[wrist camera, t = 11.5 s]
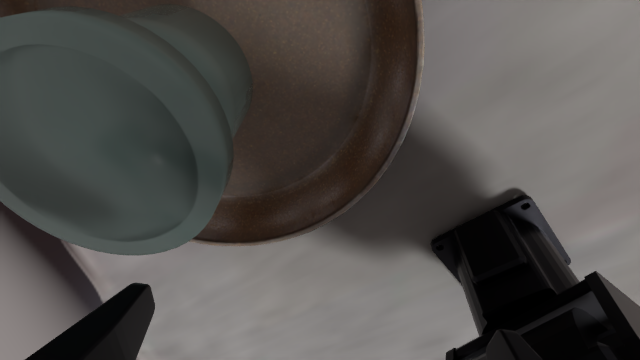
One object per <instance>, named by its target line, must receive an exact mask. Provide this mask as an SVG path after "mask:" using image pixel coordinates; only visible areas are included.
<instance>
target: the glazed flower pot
mask: <svg viewBox="0 0 640 360" xmlns="http://www.w3.org/2000/svg"><path fill="white" fill-rule="evenodd" d="M252 94H253V82H252V75H251V71H250V67H249V64H248V62H247V59H246V57H245V55H244V53H243V51H242V49H241V47H240V46H239V44H238V43H237V42H236V40H235V39H234V38H233V36H232V35H231V34H230V33H229V32H228V31H227V30H226V29H225V28H224V27H223V26H222V25H221V24H219V23H218V22H217V21H215V20H214V19H213V18H211V17H210V16H208V15H206V14H204V13H202V12H200V11H198V10H195V9H193V8H190V7H186V6H182V5H176V4H159V5H155V6H150V7H147V8H143V9H140V10H137V11H133V12H130V13H126V14H123V15H120V16H118V15H115V14H113V13H110V12H105V11H101V10H97V9H93V8H86V7H76V6H63V7H51V8H46V9H41V10H36V11H31V12H26V13H21V14H16V15H11V16H6V17H1V18H0V201H1V202H2V203H4V204H5V205H6V206H7V207H8V208H10V209H11V210H12V211H14V212H15V213H16V214H18V215H19V216H20V217H22V218H23V219H25V220H26V221H28V222H30V223H32V224H33V225H35V226H36V227H38V228H40V229H42V230H43V231H45V232H47V233H49V234H51V235H53V236H55V237H58V238H60V239H62V240H64V241H67V242H69V243H72V244H75V245H78V246H81V247H84V248H88V249H91V250H95V251H99V252H105V253H110V254H119V255H148V254H155V253H160V252H165V251H168V250H171V249H174V248H177V247H179V246H181V245H183V244H185V243H187V242H188V241H190V240H191V239H192V238H194V237H195V236H197V235H198V234H199V233H200V232H201V231H202V230H203V229H204V228H205V226H206V225H207V223H208V222H209V221H210V219H211V218H212V216H213V214H214V212H215V210H216V207H217V205H218V203H219V201H220V199H221V197H222V195H223V193H224V191H225V189H226V187H227V184H228V182H229V180H230V176H231V172H232V169H233V159H234V151H233V140H232V139H233V137H234V136H235V134H236V132H237V131H238V129H239V127H240V125H241V124H242V122H243V120H244V118H245V117H246V115H247V113H248V110H249V108H250V105H251V101H252Z"/></svg>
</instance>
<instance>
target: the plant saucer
mask: <svg viewBox="0 0 640 360" xmlns="http://www.w3.org/2000/svg"><path fill="white" fill-rule="evenodd" d="M159 4H176V5H182V6H186V7H190V8H193V9H195V10H198V11H200V12H202V13H204V14H206V15H208V16H210V17H211V18H213V19H214V20H215V21H217V22H218V23H219V24H221V25H222V26H223V27H224V28H225V29H226V30H227V31H228V32H229V33H230V34H231V35H232V36H233V38H234V39H235V40H236V42H237V43H238V44H239V46H240V47H241V49H242V51H243V53H244V55H245V57H246V59H247V62H248V64H249V67H250V71H251V75H252V82H253V94H252V101H251V105H250V108H249V110H248V113H247V115H246V117H245V118H244V120H243V122H242V124H241V125H240V127H239V129H238V131H237V132H236V134H235V136H234V137H233V139H232V140H233V151H234V159H233V169H232V172H231V176H230V180H229V182H228V184H227V187H226V189H225V191H224V193H223V195H222V197H221V199H220V201H219V203H218V205H217V207H216V210H215V212H214V214H213V216H212V218H211V219H210V221H209V222H208V223H207V225H206V226H205V228H204V229H203V230H202V231H201V232H200V233H199V234H198V235H197V236H195V237H194V238H192V239H191V240H190V241H189V242H194V243H198V244H205V245H214V246H255V245H262V244H269V243H275V242H278V241H283V240H287V239H291V238H294V237H297V236H300V235H303V234H305V233H308V232H311V231H313V230H315V229H317V228H319V227H321V226H323V225H325V224H327V223H328V222H330V221H332V220H333V219H335V218H337V217H338V216H340V215H341V214H343V213H344V212H346V211H347V210H348V209H350V208H351V207H352V206H353V205H354V204H356V203H357V202H358V201H359V200H360V199H361V198H362V197H363V196H364V195H366V194H367V193H368V192H369V191H370V189H371V188H372V187H373V186H374V185H375V184H376V183H377V181H378V180H379V179H380V178H381V176H382V175H383V174H384V172H385V171H386V169H387V168H388V167H389V165H390V164H391V162H392V161H393V159H394V157H395V155H396V153H397V152H398V150H399V148H400V147H401V145H402V142H403V140H404V138H405V136H406V134H407V131H408V129H409V126H410V124H411V121H412V118H413V115H414V112H415V108H416V104H417V100H418V96H419V91H420V86H421V79H422V71H423V63H424V49H425V45H424V20H423V9H422V2H421V0H0V18H1V17H6V16H11V15H16V14H21V13H26V12H31V11H36V10H41V9H46V8H51V7H63V6H76V7H86V8H93V9H97V10H101V11H105V12H110V13H113V14H115V15H118V16H120V15H123V14H126V13H130V12H133V11H137V10H140V9H143V8H147V7H150V6H155V5H159Z"/></svg>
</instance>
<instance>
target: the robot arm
mask: <svg viewBox="0 0 640 360" xmlns="http://www.w3.org/2000/svg"><path fill="white" fill-rule="evenodd" d="M524 203H527V204H526V205H524V206H521V205H522V204H524ZM437 245H441V246H437ZM431 247H432V250H433V252H434V253H435V254H436V255H437V256H438V257H439V259H440V260H441V261H442V262H443V263H444V264H445V266H446V267H447V268H448V269H449V270H450V271H451V272H452V274H453V275H454V276H455V277H456V278H457V279H458V281H459V282H460V283H461V284H462V286H463V289H464V292H465V295H466V298H467V301H468V304H469V307H470V310H471V313H472V316H473V319H474V322H475V325H476V328H477V331H478V334H479V337H478V338H476V339H474V340H472V341H470V342H468V343H467V344H465V345H463V346H461V347H459V348H457V349H456V348H453V349H452V350H450V351H448V352H446V360H640V306H638V305H637V304H636V303H635V302H633V301H632V300H631V299H630V298H629V297H627V296H626V295H625V294H624V293H622V292H621V291H620V290H619V289H618V288H616V287H615V286H614V285H613V284H611V283H610V282H609V281H608V280H607V279H605V278H604V277H603V276H602V275H600V274H599V273H598V272H597V271H595V272H593V273H591V274H589V275H587V276H585V280H583V281H581V282H579V280H578V279H577V278H576V276H575V275H574V273H573V272H572V270H571V269H570V268H569V266H568V265H569V264H570V263H571V260H570V258H569V256H568V255H567V253H566V252H565V250H564V248H563V247H562V245H561V244H560V242H559V240H558V239H557V237H556V236H555V234H554V233H553V231H552V229H551V228H550V226H549V225H548V223H547V221H546V220H545V218H544V217H543V215H542V214H541V212H540V210H539V209H538V207H537V206H536V204H535V202H534V201H533V200H532V198H531V197H529V196H527V195H523V196H520V197H518V198H516V199H513V200H511V201H509V202H507V203H505V204H503V205H501V206H499V207H497V208H495V209H493V210H491V211H489V212H487V213H485V214H483V215H481V216H479V217H477V218H475V219H473V220H471V221H469V222H467V223H465V224H463V225H461V226H459V227H457V228H455V229H453V230H451V231H449V232H447V233H445V234H443V235H441V236H439V237H437V238H435V239H433V240H432V242H431ZM154 310H155V303H154V299H153V295H152V291H151V287H150V286H149V285H148V284H142V283H132V284H130V285H129V286H127V287H126V288H124V289H123V290H122V291H120V292H119V293H117V294H116V295H115V296H113V297H112V298H110V299H109V300H108V301H106V302H105V303H103V304H102V305H101V306H100V307H98V308H97V309H95V310H94V311H92V312H91V313H89V314H88V315H87V316H85V317H84V318H82V319H81V320H80V321H79V322H77V323H76V324H74V325H73V326H71V327H70V328H69V329H67V330H66V331H64V332H63V333H62V334H60V335H59V336H57V337H56V338H55V339H53V340H52V341H50V342H49V343H48V344H46V345H45V346H43V347H42V348H41V349H39V350H38V351H36V352H35V353H34V354H32V355H31V356H30V357H28V358H27V359H25V360H136V357H137V355H138V352H139V350H140V347H141V345H142V342H143V340H144V337H145V334H146V332H147V329H148V327H149V324H150V322H151V319H152V316H153V314H154Z"/></svg>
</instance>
